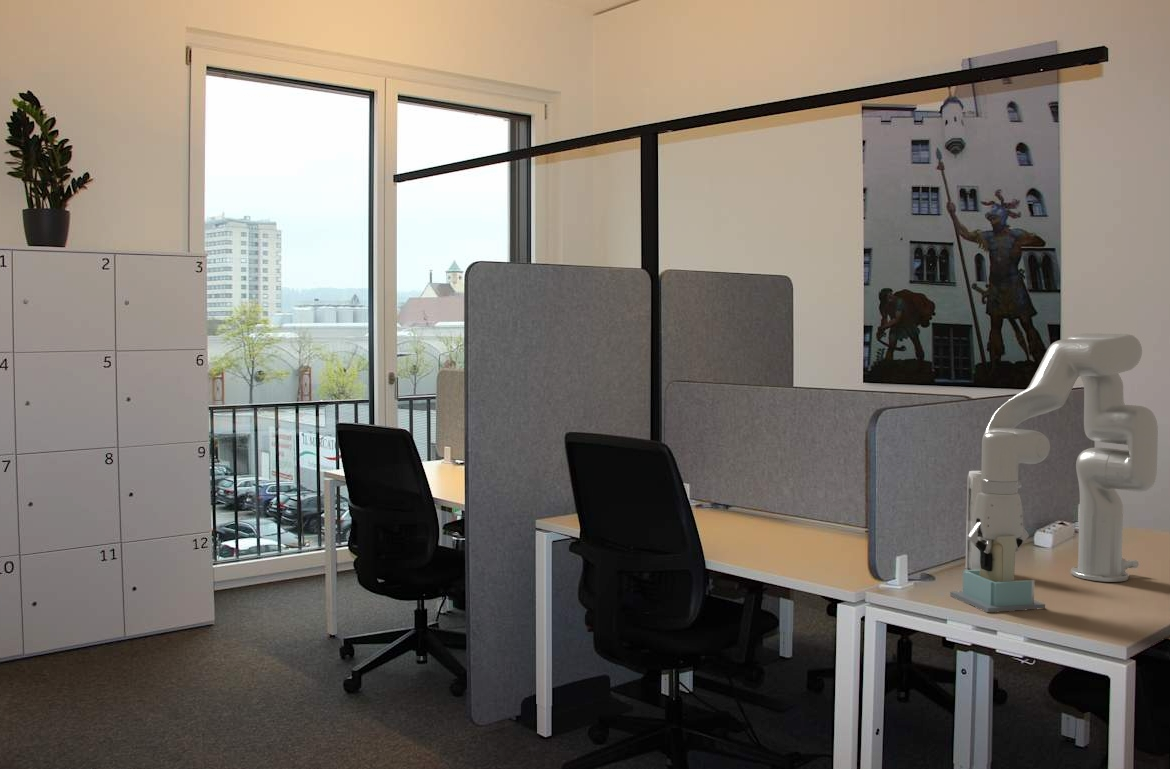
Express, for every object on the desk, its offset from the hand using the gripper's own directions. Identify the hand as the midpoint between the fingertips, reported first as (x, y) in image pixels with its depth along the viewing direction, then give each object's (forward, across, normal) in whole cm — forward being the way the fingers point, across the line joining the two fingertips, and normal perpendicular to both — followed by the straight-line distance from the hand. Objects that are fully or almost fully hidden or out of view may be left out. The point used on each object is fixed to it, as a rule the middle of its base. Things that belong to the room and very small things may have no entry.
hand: (997, 568), depth 221 cm
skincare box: (+5, 0, 0) cm, 5 cm away
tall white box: (+8, -14, -27) cm, 31 cm away
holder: (+8, 0, 0) cm, 8 cm away
